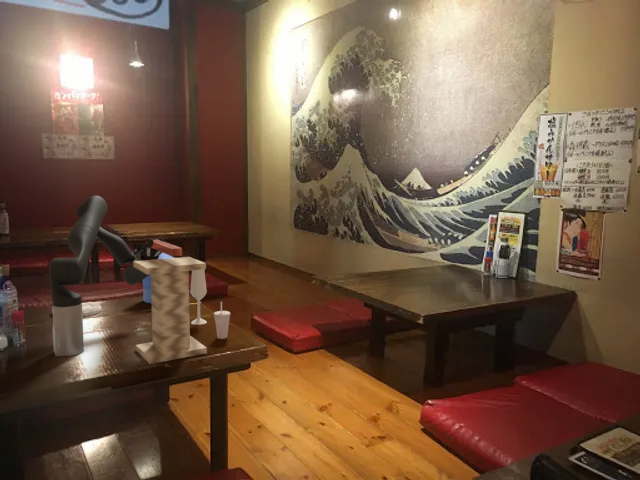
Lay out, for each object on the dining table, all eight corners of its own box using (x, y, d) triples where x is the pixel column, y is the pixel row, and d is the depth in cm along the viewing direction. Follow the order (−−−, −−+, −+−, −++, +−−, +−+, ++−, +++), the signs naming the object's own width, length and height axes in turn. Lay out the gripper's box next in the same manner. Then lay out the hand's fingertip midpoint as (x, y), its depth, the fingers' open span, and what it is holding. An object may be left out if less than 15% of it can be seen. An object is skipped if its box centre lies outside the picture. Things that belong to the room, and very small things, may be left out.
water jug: (146, 297, 267) (145, 241, 264) (178, 296, 269) (177, 242, 265) (139, 304, 252) (138, 246, 248) (173, 304, 254) (172, 246, 250)
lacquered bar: (171, 256, 175) (171, 248, 175) (148, 246, 196) (148, 240, 196) (182, 255, 177) (182, 248, 177) (158, 246, 198) (157, 239, 198)
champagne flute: (210, 321, 225) (209, 265, 222) (200, 325, 219) (199, 268, 216) (197, 319, 228) (196, 264, 225) (187, 323, 222) (186, 266, 219)
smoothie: (210, 338, 202) (210, 302, 200) (219, 334, 208) (219, 299, 206) (225, 340, 200) (225, 304, 198) (233, 335, 206) (233, 300, 204)
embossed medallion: (103, 306, 249) (103, 300, 249) (99, 317, 230) (99, 310, 230) (56, 309, 243) (56, 302, 243) (48, 320, 224) (48, 313, 224)
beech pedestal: (149, 364, 175) (146, 268, 171) (136, 350, 188) (133, 261, 184) (206, 353, 186) (205, 263, 182) (190, 341, 199) (189, 256, 195)
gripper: (126, 250, 203) (136, 232, 190) (162, 248, 211) (175, 230, 197) (129, 269, 201) (139, 251, 187) (166, 266, 208) (178, 248, 195)
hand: (157, 240), depth 192 cm, fingers closed on lacquered bar, 3 cm apart
